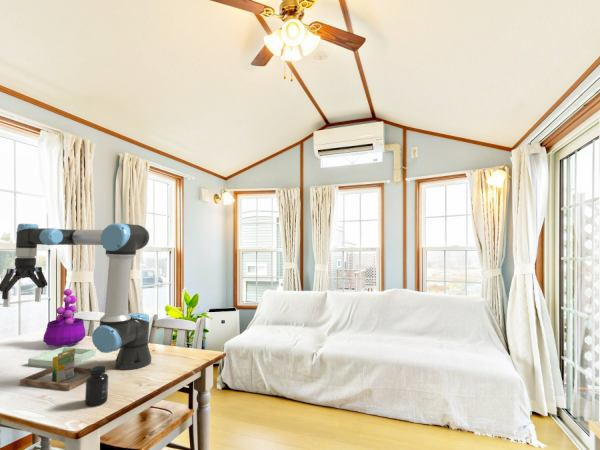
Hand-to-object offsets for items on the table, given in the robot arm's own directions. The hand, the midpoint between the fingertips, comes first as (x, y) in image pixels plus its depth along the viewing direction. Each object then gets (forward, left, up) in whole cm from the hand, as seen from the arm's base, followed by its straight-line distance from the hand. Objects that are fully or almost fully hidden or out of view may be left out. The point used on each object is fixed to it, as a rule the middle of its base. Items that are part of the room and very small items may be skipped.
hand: (22, 304), depth 151 cm
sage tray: (-14, -10, -27) cm, 32 cm away
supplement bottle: (-60, +22, -27) cm, 69 cm away
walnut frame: (-32, +8, -27) cm, 43 cm away
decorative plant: (+6, -30, -27) cm, 41 cm away
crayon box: (-32, +8, -28) cm, 43 cm away
